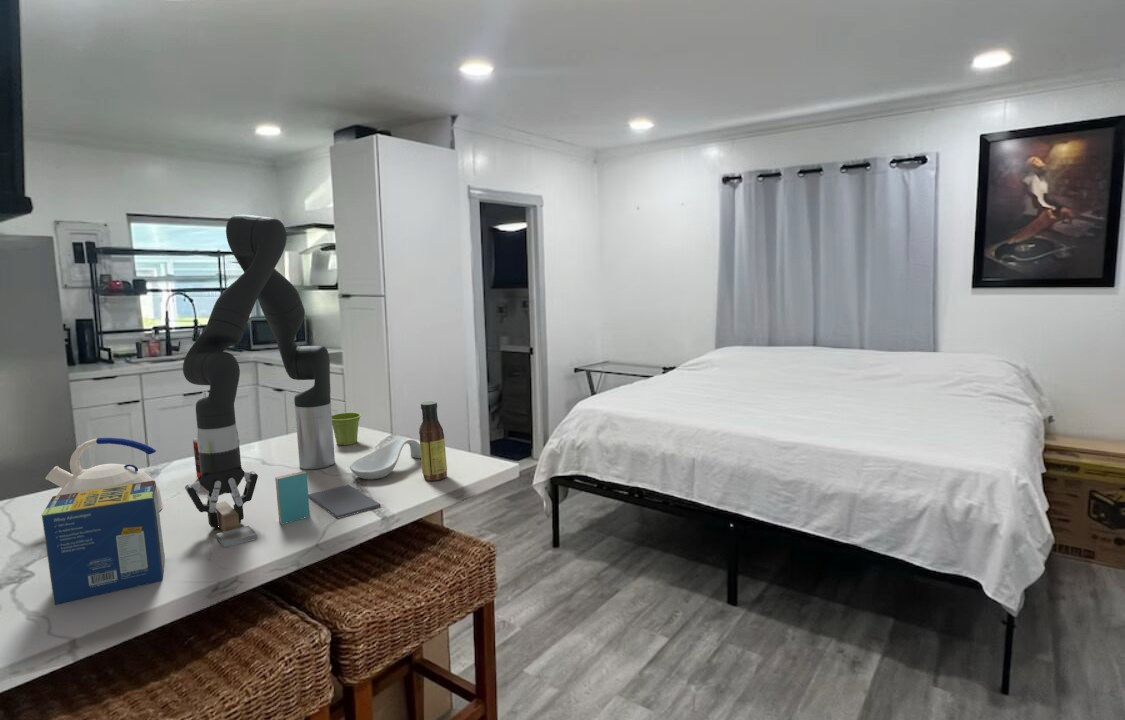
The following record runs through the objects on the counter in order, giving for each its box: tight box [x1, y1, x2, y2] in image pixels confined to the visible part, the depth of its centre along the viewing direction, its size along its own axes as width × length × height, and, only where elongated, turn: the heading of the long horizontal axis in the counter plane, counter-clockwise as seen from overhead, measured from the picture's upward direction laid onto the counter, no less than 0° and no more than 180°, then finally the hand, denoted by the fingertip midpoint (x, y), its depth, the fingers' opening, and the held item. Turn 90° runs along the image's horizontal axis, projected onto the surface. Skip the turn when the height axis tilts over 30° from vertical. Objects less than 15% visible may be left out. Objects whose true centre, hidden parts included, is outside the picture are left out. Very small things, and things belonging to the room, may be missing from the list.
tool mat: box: [308, 484, 381, 519], centre depth 146 cm, size 18×10×1 cm, turn 41°
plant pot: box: [332, 412, 362, 446], centre depth 196 cm, size 9×9×9 cm
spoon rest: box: [349, 437, 421, 480], centre depth 169 cm, size 24×12×7 cm, turn 154°
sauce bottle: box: [418, 400, 448, 482], centre depth 161 cm, size 7×6×20 cm
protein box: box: [40, 479, 166, 605], centre depth 109 cm, size 10×15×16 cm
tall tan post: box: [215, 500, 258, 548], centre depth 131 cm, size 16×6×4 cm, turn 41°
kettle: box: [45, 437, 164, 512], centre depth 139 cm, size 20×21×18 cm
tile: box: [274, 470, 311, 525], centre depth 136 cm, size 2×6×10 cm, turn 131°
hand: (226, 524), depth 133 cm, fingers open, 3 cm apart
